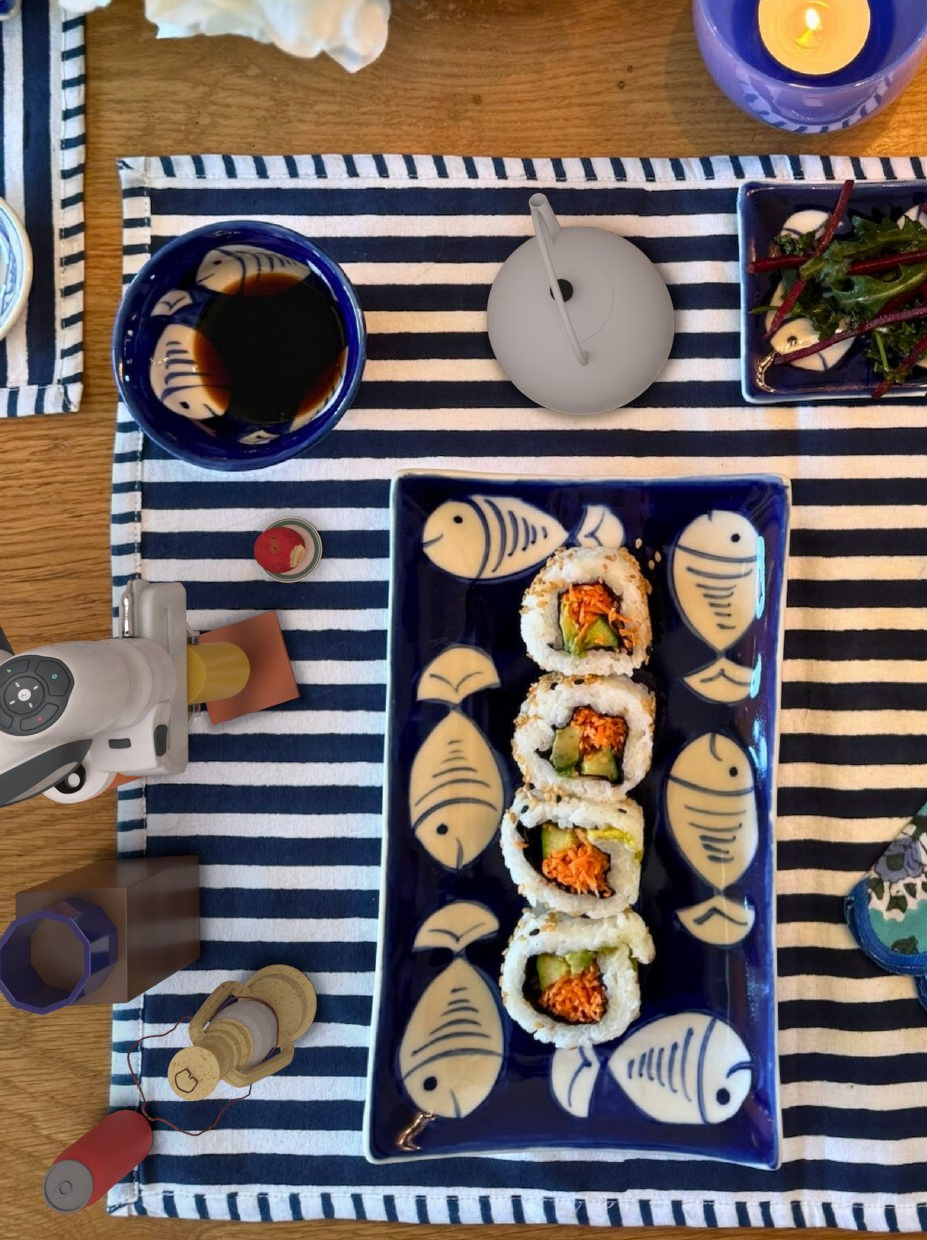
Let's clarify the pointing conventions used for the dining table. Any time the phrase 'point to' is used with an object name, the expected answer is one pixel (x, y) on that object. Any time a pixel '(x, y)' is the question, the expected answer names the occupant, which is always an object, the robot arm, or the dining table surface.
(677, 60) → the dining table surface
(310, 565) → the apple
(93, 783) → the shaker bottle
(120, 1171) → the beer can
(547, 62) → the dining table surface
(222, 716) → the coaster
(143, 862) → the stand
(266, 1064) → the lantern
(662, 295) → the kettle
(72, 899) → the blue faceted ring
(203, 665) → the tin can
